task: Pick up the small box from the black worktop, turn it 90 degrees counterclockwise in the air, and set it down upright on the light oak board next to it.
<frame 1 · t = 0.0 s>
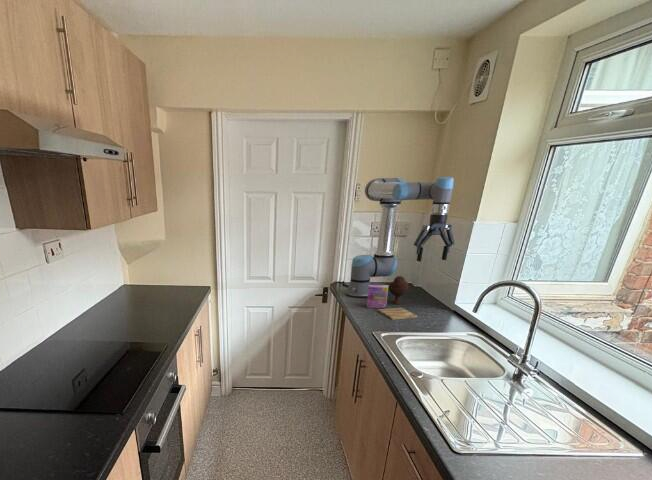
hand: (431, 260, 203), 28 cm above the worktop, tool pointing down, fingers open, 13 cm apart
oak board: (397, 314, 218), on the worktop
ice cream bowl: (396, 303, 239), on the worktop
box: (376, 307, 232), on the worktop
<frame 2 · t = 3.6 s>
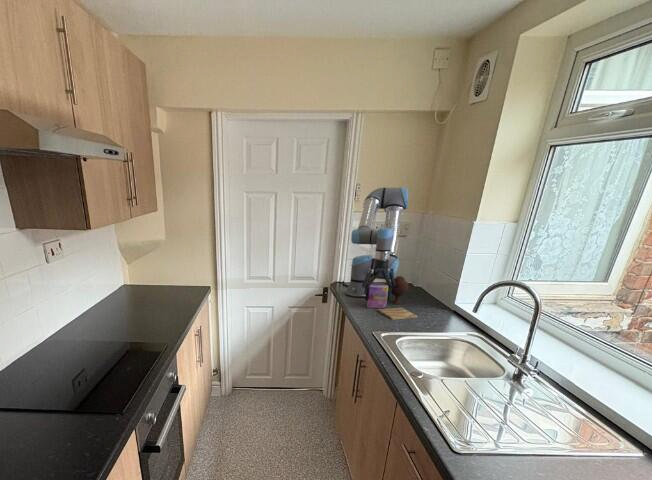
hand: (377, 299, 230), 4 cm above the worktop, tool pointing down, fingers closed on box, 12 cm apart
box: (376, 307, 232), on the worktop, touching gripper
everything else where it was.
when the fingers open (5 cm above the worktop, at t = 12.2 s): box stays where it is, resting on oak board.
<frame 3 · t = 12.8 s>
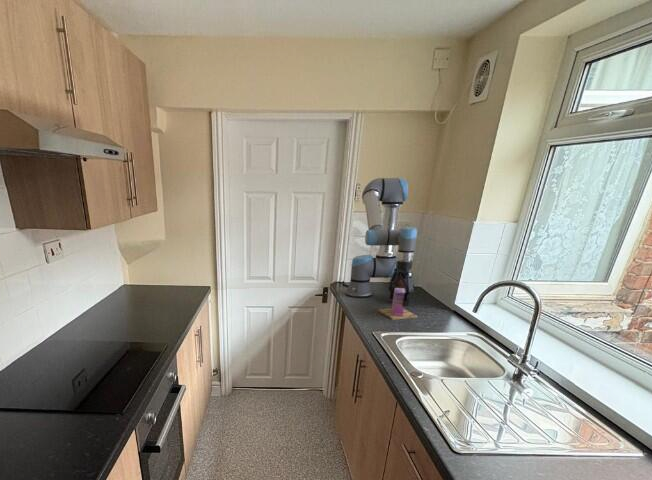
hand: (398, 302, 216), 6 cm above the worktop, tool pointing down, fingers open, 13 cm apart
box: (397, 312, 218), point 1 cm above the worktop, touching oak board
everything else where it was.
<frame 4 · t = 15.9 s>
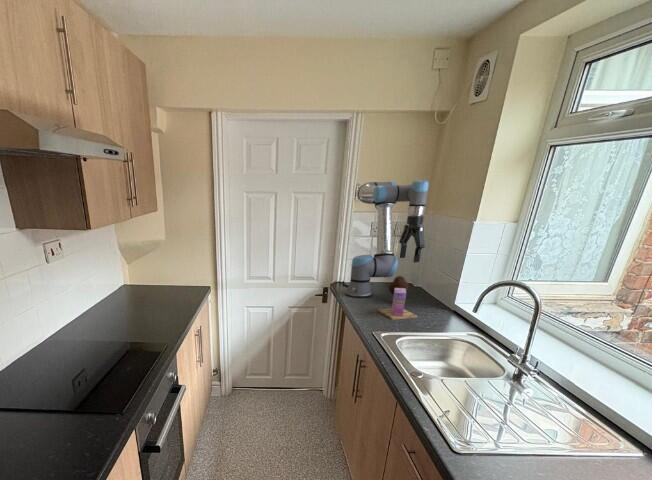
hand: (409, 260, 213), 27 cm above the worktop, tool pointing down, fingers open, 13 cm apart
nothing on the worktop moved.
at the end: box inside the target area on the oak board (0.0 cm from its centre), point 0.8 cm above the oak board's base; box tilted 0°; the gripper is holding nothing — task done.
